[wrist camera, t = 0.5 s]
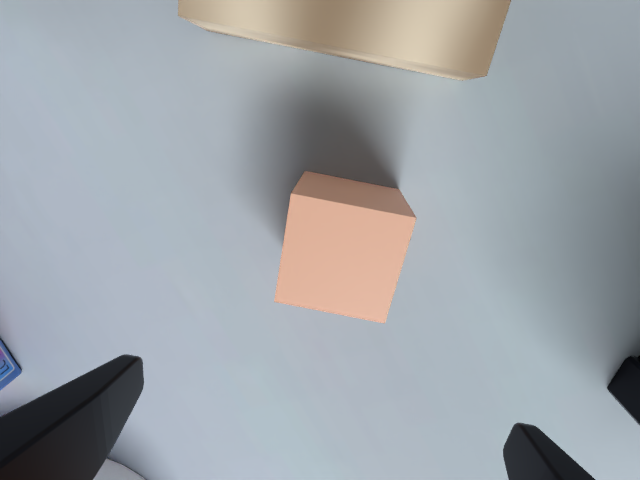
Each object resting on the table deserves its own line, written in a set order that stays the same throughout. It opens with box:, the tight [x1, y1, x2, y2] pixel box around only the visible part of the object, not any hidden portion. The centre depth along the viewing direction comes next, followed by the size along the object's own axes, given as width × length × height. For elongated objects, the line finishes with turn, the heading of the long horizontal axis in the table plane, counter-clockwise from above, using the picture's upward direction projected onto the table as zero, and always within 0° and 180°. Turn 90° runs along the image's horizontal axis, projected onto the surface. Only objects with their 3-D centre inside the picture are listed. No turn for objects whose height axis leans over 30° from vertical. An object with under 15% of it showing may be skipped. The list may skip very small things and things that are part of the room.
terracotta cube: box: [274, 171, 416, 323], centre depth 17 cm, size 5×5×5 cm
